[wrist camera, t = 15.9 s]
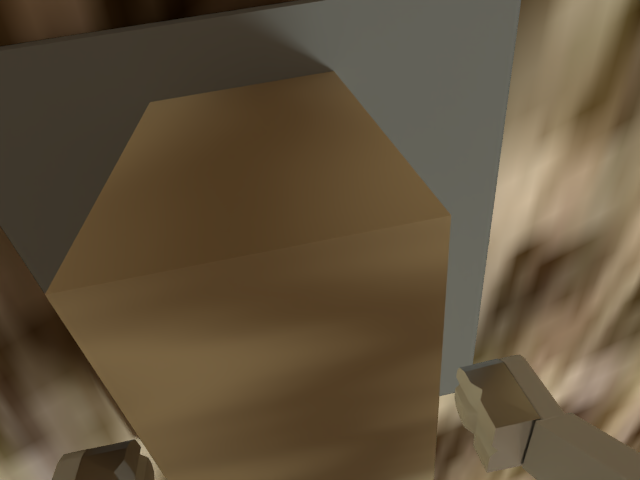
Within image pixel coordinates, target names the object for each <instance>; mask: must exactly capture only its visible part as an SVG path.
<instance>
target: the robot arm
mask: <svg viewBox="0 0 640 480" xmlns="http://www.w3.org/2000/svg"><path fill="white" fill-rule="evenodd" d="M456 378H457V380H458V382H459V385H458V386H457V387H456V388H455V402H456V407H457V411H458V413H459V416H460V419H461V421H462V423H463V425H464V427H465V428H466V429H467V430H469V431H470V432H472V433H473V434H475V436H474V443H473V446H474V448H475V450H476V452H477V454H478V456H479V458H480V460H481V462H482V464H483V466H484V468H485V470H486V472H492V471H497V470H502V469H507V468H512V467H516V466H521V465H523V466H522V468H523V469H525V470H526V471H527V472H528V473H529V474H531V475H532V476H533V477H534V478H535V479H537V480H640V453H639V452H637V451H635V450H634V449H632V448H630V447H629V446H627V445H625V444H624V443H622V442H620V441H618V440H617V439H615V438H613V437H612V436H610V435H608V434H607V433H605V432H603V431H601V430H600V429H598V428H596V427H595V426H593V425H591V424H590V423H588V422H586V421H584V420H583V419H581V418H579V417H578V416H576V415H574V414H572V413H567V414H565V413H564V412H563V411H562V409H561V408H560V406H559V405H558V404H557V402H556V401H555V399H554V398H553V397H552V395H551V394H550V393H549V391H548V390H547V388H546V387H545V386H544V384H543V383H542V381H541V380H540V379H539V377H538V376H537V375H536V373H535V372H534V370H533V369H532V368H531V366H530V365H529V363H528V362H527V361H526V359H525V358H524V357H522V356H521V355H514V356H509V357H505V358H501V359H494V360H490V361H486V362H481V363H477V364H473V365H469V366H465V367H460V368H459V369H458V370H457V376H456ZM140 449H141V447H140V445H139V444H138V443H137V441H136V440H130V441H125V442H120V443H116V444H111V445H106V446H101V447H97V448H92V449H86V450H81V451H77V452H72V453H68V454H64V455H63V456H62V458H61V459H60V461H59V462H58V464H57V466H56V469H55V472H54V475H53V478H52V480H154V470H153V467H152V463H151V462H150V460H149V459H148V457H145V456H143V455H140Z"/></svg>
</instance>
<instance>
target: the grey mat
mask: <svg viewBox="0 0 640 480" xmlns="http://www.w3.org/2000/svg"><path fill="white" fill-rule="evenodd" d="M520 4H521V0H297V1H291V2H284V3H278V4H271V5H265V6H259V7H252V8H246V9H239V10H233V11H226V12H220V13H213V14H207V15H200V16H194V17H187V18H181V19H175V20H168V21H162V22H155V23H149V24H142V25H136V26H129V27H123V28H116V29H110V30H103V31H97V32H91V33H84V34H78V35H71V36H65V37H58V38H52V39H45V40H39V41H32V42H26V43H19V44H13V45H7V46H0V226H1V228H2V229H3V231H4V232H5V234H6V235H7V237H8V238H9V240H10V241H11V243H12V244H13V246H14V248H15V249H16V251H17V252H18V254H19V255H20V257H21V258H22V260H23V261H24V263H25V264H26V266H27V267H28V269H29V270H30V272H31V273H32V275H33V277H34V278H35V280H36V281H37V283H38V284H39V286H40V287H41V289H42V290H43V292H44V293H46V292H47V290H48V288H49V286H50V284H51V282H52V281H53V279H54V277H55V275H56V273H57V271H58V270H59V268H60V266H61V264H62V262H63V260H64V259H65V257H66V255H67V253H68V251H69V249H70V248H71V246H72V244H73V242H74V240H75V238H76V237H77V235H78V233H79V231H80V229H81V228H82V226H83V224H84V222H85V220H86V218H87V217H88V215H89V213H90V211H91V209H92V207H93V206H94V204H95V202H96V200H97V198H98V196H99V195H100V193H101V191H102V189H103V187H104V185H105V184H106V182H107V180H108V178H109V176H110V174H111V173H112V171H113V169H114V167H115V165H116V163H117V162H118V160H119V158H120V156H121V154H122V152H123V151H124V149H125V147H126V145H127V143H128V141H129V140H130V138H131V136H132V134H133V132H134V130H135V129H136V127H137V125H138V123H139V121H140V119H141V118H142V116H143V114H144V112H145V110H146V108H147V107H148V105H149V103H150V102H154V101H160V100H165V99H171V98H177V97H183V96H189V95H195V94H201V93H207V92H213V91H219V90H225V89H230V88H236V87H242V86H248V85H254V84H260V83H266V82H272V81H278V80H284V79H290V78H295V77H301V76H307V75H313V74H319V73H325V72H331V71H334V72H335V73H336V74H337V75H338V77H339V78H340V79H341V80H342V82H343V83H344V84H345V85H346V87H347V88H348V89H349V90H350V91H351V93H352V94H353V95H354V96H355V98H356V99H357V100H358V101H359V103H360V104H361V105H362V106H363V107H364V109H365V110H366V111H367V112H368V114H369V115H370V116H371V117H372V119H373V120H374V121H375V122H376V123H377V125H378V126H379V127H380V128H381V130H382V131H383V132H384V133H385V135H386V136H387V137H388V138H389V139H390V141H391V142H392V143H393V144H394V146H395V147H396V148H397V149H398V151H399V152H400V153H401V154H402V155H403V157H404V158H405V159H406V160H407V162H408V163H409V164H410V165H411V167H412V168H413V169H414V170H415V171H416V173H417V174H418V175H419V176H420V178H421V179H422V180H423V181H424V183H425V184H426V185H427V186H428V187H429V189H430V190H431V191H432V192H433V194H434V195H435V196H436V197H437V199H438V200H439V201H440V202H441V203H442V205H443V206H444V207H445V208H446V210H447V211H448V212H449V213H450V215H451V225H450V241H449V256H448V271H447V286H446V302H445V317H444V332H443V347H442V362H441V378H440V393H439V396H442V395H447V394H451V393H455V388H456V387H457V386H458V385H459V382H458V380H457V378H456V376H457V370H458V369H459V368H460V367H465V366H469V365H473V357H474V350H475V342H476V335H477V327H478V320H479V312H480V305H481V297H482V290H483V282H484V275H485V267H486V260H487V252H488V245H489V237H490V229H491V222H492V214H493V207H494V199H495V192H496V184H497V177H498V169H499V162H500V154H501V147H502V139H503V132H504V124H505V117H506V109H507V102H508V94H509V87H510V79H511V72H512V64H513V57H514V49H515V42H516V34H517V27H518V19H519V12H520Z"/></svg>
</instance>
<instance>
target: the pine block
mask: <svg viewBox="0 0 640 480" xmlns="http://www.w3.org/2000/svg"><path fill="white" fill-rule="evenodd" d="M450 225H451V215H450V213H449V212H448V211H447V210H446V208H445V207H444V206H443V205H442V203H441V202H440V201H439V200H438V199H437V197H436V196H435V195H434V194H433V192H432V191H431V190H430V189H429V187H428V186H427V185H426V184H425V183H424V181H423V180H422V179H421V178H420V176H419V175H418V174H417V173H416V171H415V170H414V169H413V168H412V167H411V165H410V164H409V163H408V162H407V160H406V159H405V158H404V157H403V155H402V154H401V153H400V152H399V151H398V149H397V148H396V147H395V146H394V144H393V143H392V142H391V141H390V139H389V138H388V137H387V136H386V135H385V133H384V132H383V131H382V130H381V128H380V127H379V126H378V125H377V123H376V122H375V121H374V120H373V119H372V117H371V116H370V115H369V114H368V112H367V111H366V110H365V109H364V107H363V106H362V105H361V104H360V103H359V101H358V100H357V99H356V98H355V96H354V95H353V94H352V93H351V91H350V90H349V89H348V88H347V87H346V85H345V84H344V83H343V82H342V80H341V79H340V78H339V77H338V75H337V74H336V73H335V72H334V71H331V72H325V73H319V74H313V75H307V76H301V77H295V78H290V79H284V80H278V81H272V82H266V83H260V84H254V85H248V86H242V87H236V88H230V89H225V90H219V91H213V92H207V93H201V94H195V95H189V96H183V97H177V98H171V99H165V100H160V101H154V102H150V103H149V105H148V107H147V108H146V110H145V112H144V114H143V116H142V118H141V119H140V121H139V123H138V125H137V127H136V129H135V130H134V132H133V134H132V136H131V138H130V140H129V141H128V143H127V145H126V147H125V149H124V151H123V152H122V154H121V156H120V158H119V160H118V162H117V163H116V165H115V167H114V169H113V171H112V173H111V174H110V176H109V178H108V180H107V182H106V184H105V185H104V187H103V189H102V191H101V193H100V195H99V196H98V198H97V200H96V202H95V204H94V206H93V207H92V209H91V211H90V213H89V215H88V217H87V218H86V220H85V222H84V224H83V226H82V228H81V229H80V231H79V233H78V235H77V237H76V238H75V240H74V242H73V244H72V246H71V248H70V249H69V251H68V253H67V255H66V257H65V259H64V260H63V262H62V264H61V266H60V268H59V270H58V271H57V273H56V275H55V277H54V279H53V281H52V282H51V284H50V286H49V288H48V290H47V292H46V293H45V296H46V297H47V299H48V300H49V302H50V303H51V305H52V306H53V308H54V309H55V311H56V313H57V314H58V316H59V317H60V319H61V320H62V322H63V323H64V325H65V326H66V328H67V329H68V331H69V332H70V334H71V335H72V337H73V338H74V340H75V341H76V343H77V344H78V346H79V347H80V349H81V350H82V352H83V353H84V355H85V356H86V358H87V359H88V361H89V362H90V364H91V366H92V367H93V369H94V370H95V372H96V373H97V375H98V376H99V378H100V379H101V381H102V382H103V384H104V385H105V387H106V388H107V390H108V391H109V393H110V394H111V396H112V397H113V399H114V400H115V402H116V403H117V405H118V406H119V408H120V409H121V411H122V412H123V414H124V415H125V417H126V419H127V420H128V422H129V423H130V425H131V426H132V428H133V429H134V431H135V432H136V434H137V435H138V437H139V438H140V440H141V441H142V443H143V444H144V446H145V447H146V449H147V450H148V452H149V453H150V455H151V456H152V458H153V459H154V461H155V462H156V464H157V465H158V467H159V469H160V470H161V472H162V473H163V475H164V476H165V478H166V479H167V480H434V469H435V454H436V439H437V423H438V408H439V393H440V378H441V362H442V347H443V332H444V317H445V302H446V286H447V271H448V256H449V241H450Z"/></svg>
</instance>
